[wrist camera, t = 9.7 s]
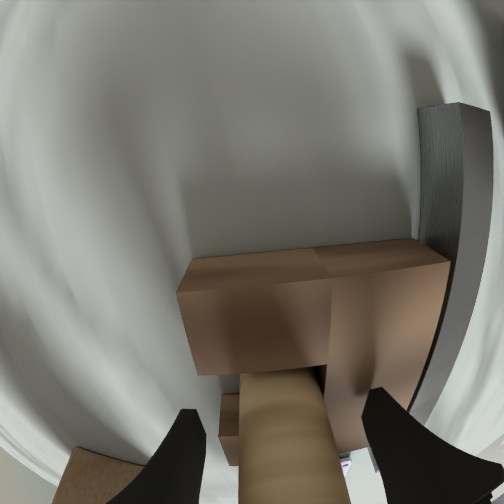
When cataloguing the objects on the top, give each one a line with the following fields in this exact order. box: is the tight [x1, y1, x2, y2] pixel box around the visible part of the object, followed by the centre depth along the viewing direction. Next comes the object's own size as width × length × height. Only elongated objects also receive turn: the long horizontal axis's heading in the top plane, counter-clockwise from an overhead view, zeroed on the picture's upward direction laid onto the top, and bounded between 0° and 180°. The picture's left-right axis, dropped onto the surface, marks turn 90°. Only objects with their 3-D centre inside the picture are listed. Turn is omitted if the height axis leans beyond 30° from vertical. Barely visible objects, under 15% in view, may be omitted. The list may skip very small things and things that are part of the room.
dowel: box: [238, 366, 351, 504], centre depth 9 cm, size 4×4×9 cm
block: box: [176, 238, 451, 466], centre depth 12 cm, size 12×10×3 cm
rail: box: [367, 102, 493, 473], centre depth 12 cm, size 24×2×3 cm, turn 5°
